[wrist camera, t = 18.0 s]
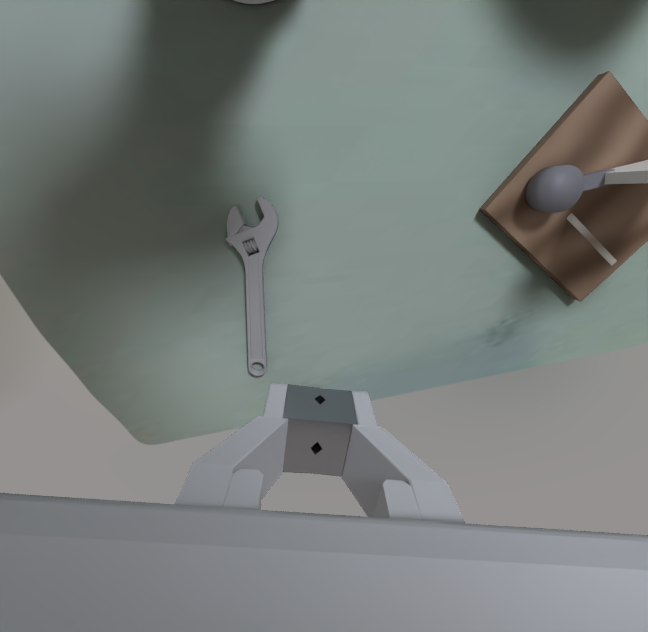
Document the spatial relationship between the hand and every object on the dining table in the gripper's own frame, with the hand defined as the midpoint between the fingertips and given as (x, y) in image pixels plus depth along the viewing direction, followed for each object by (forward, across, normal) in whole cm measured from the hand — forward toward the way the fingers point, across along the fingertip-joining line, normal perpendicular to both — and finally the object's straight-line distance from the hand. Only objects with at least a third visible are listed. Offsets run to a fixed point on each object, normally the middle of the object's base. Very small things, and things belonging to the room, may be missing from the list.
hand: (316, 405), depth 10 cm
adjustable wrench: (+35, +8, +8) cm, 36 cm away
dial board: (+34, -34, -10) cm, 49 cm away
